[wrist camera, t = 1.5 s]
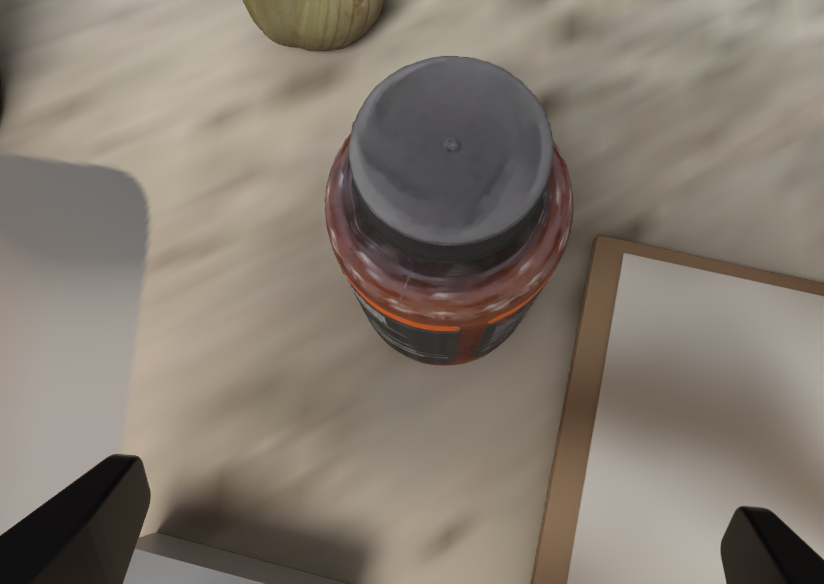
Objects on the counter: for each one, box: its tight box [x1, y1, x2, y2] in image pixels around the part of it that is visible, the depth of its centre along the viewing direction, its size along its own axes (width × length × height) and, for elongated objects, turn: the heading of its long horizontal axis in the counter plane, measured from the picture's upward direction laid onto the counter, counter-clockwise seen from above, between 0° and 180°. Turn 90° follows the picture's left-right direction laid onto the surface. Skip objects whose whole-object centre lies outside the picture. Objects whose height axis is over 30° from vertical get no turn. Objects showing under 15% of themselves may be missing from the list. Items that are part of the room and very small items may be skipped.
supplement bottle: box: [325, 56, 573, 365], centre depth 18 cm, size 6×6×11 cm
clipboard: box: [531, 235, 824, 584], centre depth 21 cm, size 14×14×1 cm
